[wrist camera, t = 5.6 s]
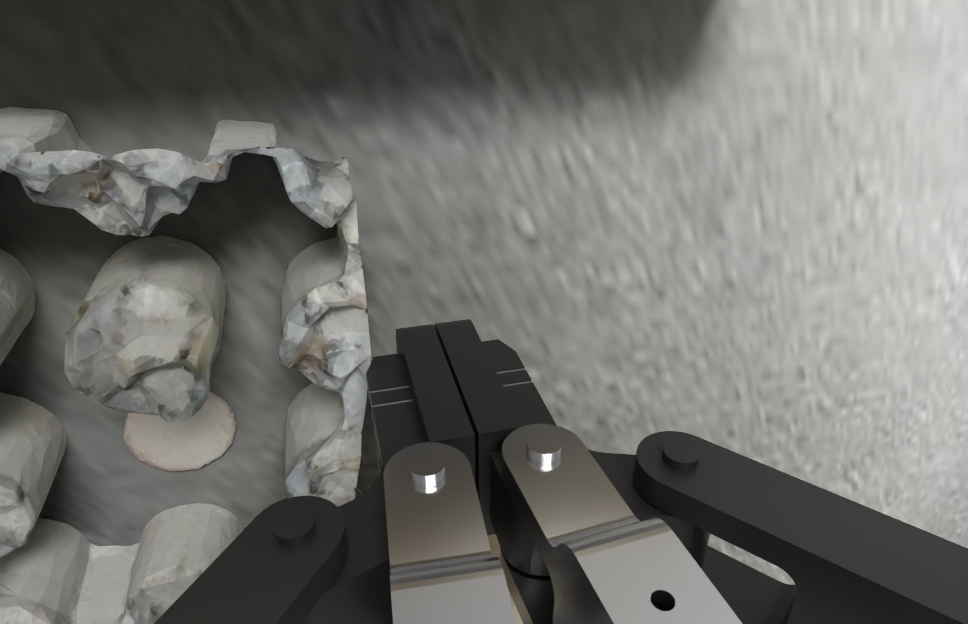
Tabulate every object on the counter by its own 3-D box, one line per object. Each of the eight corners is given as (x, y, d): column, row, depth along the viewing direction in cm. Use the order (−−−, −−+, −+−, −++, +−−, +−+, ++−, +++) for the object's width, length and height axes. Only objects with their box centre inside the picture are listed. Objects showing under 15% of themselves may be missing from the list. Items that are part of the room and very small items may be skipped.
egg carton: (333, 529, 18) (347, 675, 14) (-3, 552, 15) (-84, 733, 12) (375, 122, 13) (411, 193, 9) (-104, 65, 11) (-289, 132, 7)
